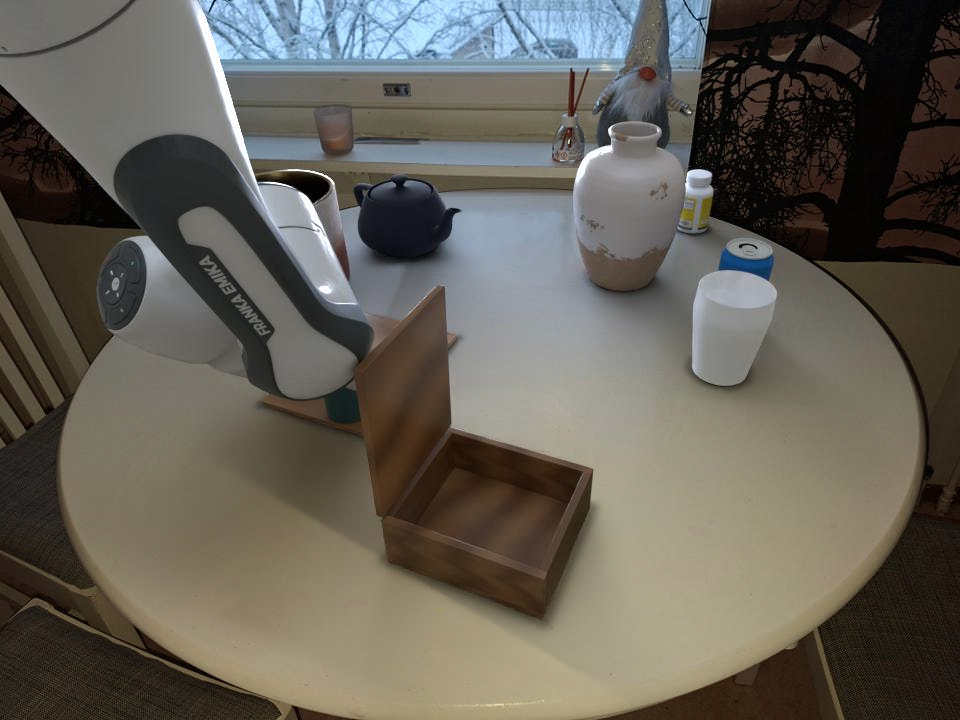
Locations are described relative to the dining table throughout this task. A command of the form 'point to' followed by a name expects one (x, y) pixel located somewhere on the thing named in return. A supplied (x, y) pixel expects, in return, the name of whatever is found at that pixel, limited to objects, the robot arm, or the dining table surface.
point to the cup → (729, 324)
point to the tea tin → (343, 406)
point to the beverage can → (747, 257)
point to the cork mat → (317, 407)
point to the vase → (627, 206)
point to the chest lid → (405, 398)
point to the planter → (316, 204)
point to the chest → (490, 519)
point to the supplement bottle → (696, 202)
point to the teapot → (402, 217)
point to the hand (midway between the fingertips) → (344, 363)
